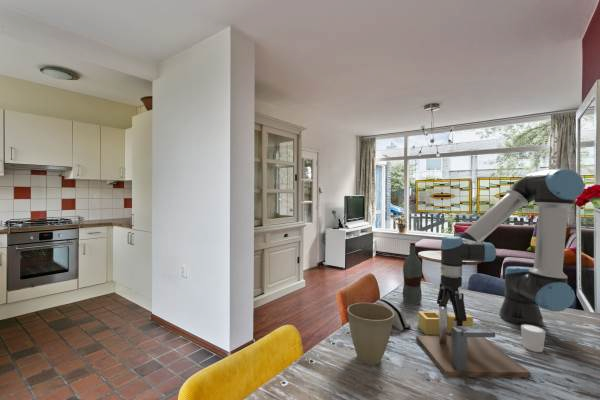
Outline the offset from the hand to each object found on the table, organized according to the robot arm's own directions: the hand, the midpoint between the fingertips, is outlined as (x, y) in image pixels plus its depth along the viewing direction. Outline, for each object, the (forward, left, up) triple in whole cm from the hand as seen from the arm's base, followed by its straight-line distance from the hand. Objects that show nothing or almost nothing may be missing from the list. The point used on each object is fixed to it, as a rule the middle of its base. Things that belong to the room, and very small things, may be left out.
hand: (450, 329), depth 116 cm
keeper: (+8, +28, 0) cm, 29 cm away
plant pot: (+37, +21, 0) cm, 43 cm away
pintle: (+9, +13, 0) cm, 16 cm away
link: (+2, 0, 0) cm, 2 cm away
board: (+4, +19, 0) cm, 20 cm away
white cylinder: (-23, +13, 0) cm, 26 cm away
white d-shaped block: (+21, -8, -1) cm, 23 cm away
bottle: (+3, -31, 0) cm, 31 cm away
